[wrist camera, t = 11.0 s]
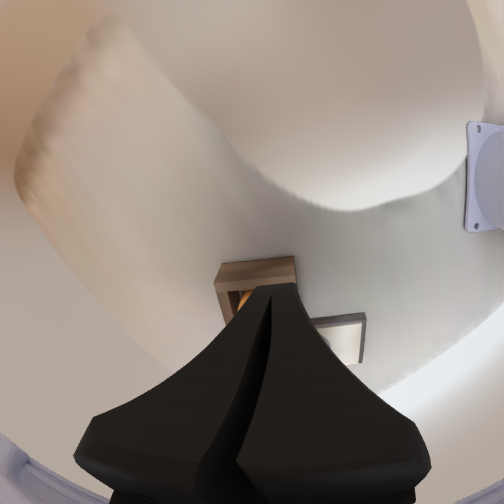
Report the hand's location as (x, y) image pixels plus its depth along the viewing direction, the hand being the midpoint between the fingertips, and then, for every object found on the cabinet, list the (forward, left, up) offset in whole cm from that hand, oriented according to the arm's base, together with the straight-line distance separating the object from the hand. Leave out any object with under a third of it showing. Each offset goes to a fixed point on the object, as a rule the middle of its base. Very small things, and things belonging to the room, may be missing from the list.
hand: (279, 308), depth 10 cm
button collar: (+2, +5, -9) cm, 11 cm away
